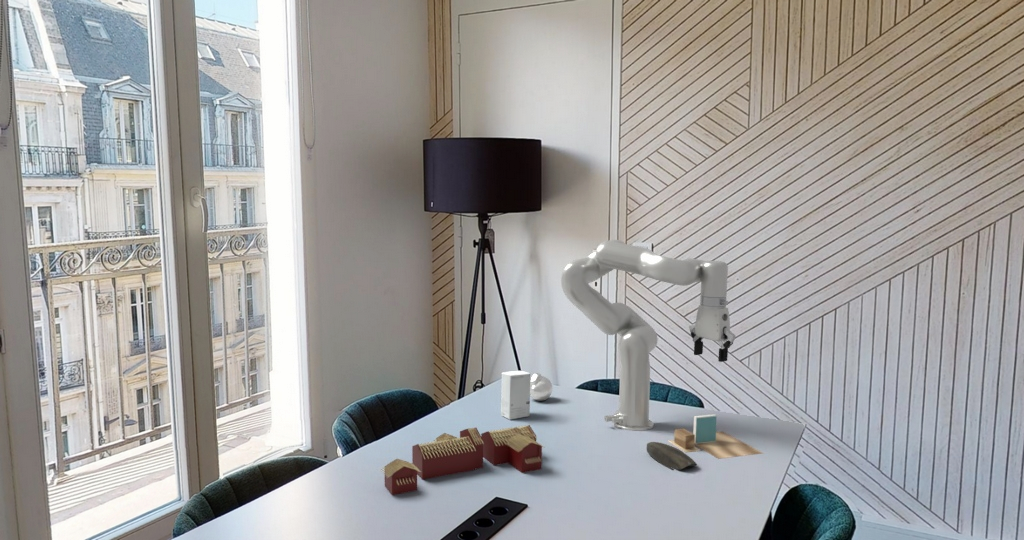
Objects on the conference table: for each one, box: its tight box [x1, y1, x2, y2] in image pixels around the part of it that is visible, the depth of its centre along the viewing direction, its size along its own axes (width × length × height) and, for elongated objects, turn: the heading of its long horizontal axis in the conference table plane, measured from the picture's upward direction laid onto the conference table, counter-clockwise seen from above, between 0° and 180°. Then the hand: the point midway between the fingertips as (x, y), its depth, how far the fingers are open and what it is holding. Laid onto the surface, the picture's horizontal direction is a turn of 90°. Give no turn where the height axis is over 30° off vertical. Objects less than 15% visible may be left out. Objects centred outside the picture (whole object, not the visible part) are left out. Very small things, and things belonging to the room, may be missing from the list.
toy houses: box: [380, 424, 545, 496], centre depth 190 cm, size 45×20×10 cm, turn 117°
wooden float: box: [668, 428, 702, 453], centre depth 209 cm, size 5×10×5 cm, turn 18°
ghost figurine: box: [530, 372, 554, 402], centre depth 256 cm, size 9×10×10 cm
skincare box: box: [500, 370, 531, 421], centre depth 237 cm, size 8×6×15 cm
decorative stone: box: [646, 441, 698, 471], centre depth 197 cm, size 17×6×4 cm, turn 28°
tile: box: [692, 413, 718, 444], centre depth 212 cm, size 7×1×8 cm, turn 108°
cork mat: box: [694, 430, 763, 460], centre depth 210 cm, size 15×20×1 cm
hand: (710, 357), depth 216 cm, fingers open, 9 cm apart
